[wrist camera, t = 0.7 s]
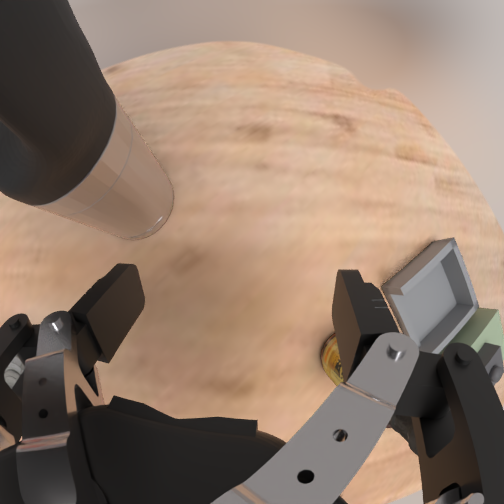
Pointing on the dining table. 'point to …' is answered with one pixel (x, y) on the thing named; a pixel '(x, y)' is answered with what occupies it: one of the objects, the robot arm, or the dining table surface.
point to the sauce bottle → (335, 373)
